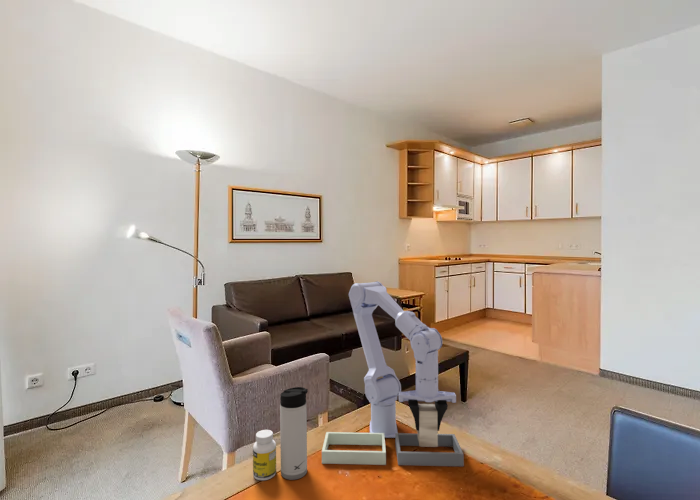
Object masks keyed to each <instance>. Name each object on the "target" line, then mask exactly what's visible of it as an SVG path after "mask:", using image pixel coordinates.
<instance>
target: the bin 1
mask: <svg viewBox="0 0 700 500" xmlns="http://www.w3.org/2000/svg"><path fill="white" fill-rule="evenodd" d="M329 445H342V446H343V445H346V446H347V445H352V446H353V445H354V446H355V445H357V446H358V445H359V446H381V449H382V450H349V449H347V450H345V449H344V450H340V449H329ZM386 449H387V448H386V440H385V436H384V433H370V432H349V431H346V432H345V431H343V432H342V431H341V432H340V431H326V432H325V436H324V440H323V445H322V448H321V464H322V465H323V464H325V465H326V464H327V465H329V464H332V465H334V464H335V465H336V464H337V465H374V466H375V465H376V466H387V451H386Z"/></svg>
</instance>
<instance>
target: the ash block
mask: <svg viewBox="0 0 700 500" xmlns="http://www.w3.org/2000/svg"><path fill="white" fill-rule="evenodd" d="M418 406H419V431H417V430H416V431H417V432H416V433H417V434H418V441H419V445H420V446H419V447H421V448H425V447H427V448H438V447H439V446H438V434H439V433H438V432H439V431H438V422H437V409H436V407H435V403H418Z"/></svg>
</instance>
